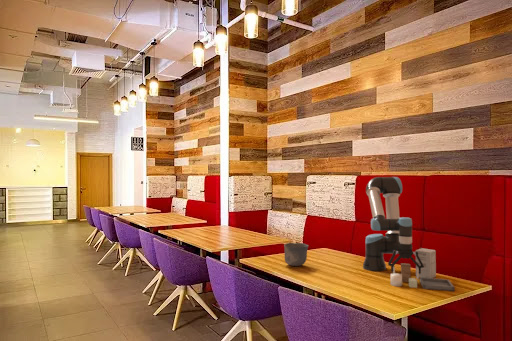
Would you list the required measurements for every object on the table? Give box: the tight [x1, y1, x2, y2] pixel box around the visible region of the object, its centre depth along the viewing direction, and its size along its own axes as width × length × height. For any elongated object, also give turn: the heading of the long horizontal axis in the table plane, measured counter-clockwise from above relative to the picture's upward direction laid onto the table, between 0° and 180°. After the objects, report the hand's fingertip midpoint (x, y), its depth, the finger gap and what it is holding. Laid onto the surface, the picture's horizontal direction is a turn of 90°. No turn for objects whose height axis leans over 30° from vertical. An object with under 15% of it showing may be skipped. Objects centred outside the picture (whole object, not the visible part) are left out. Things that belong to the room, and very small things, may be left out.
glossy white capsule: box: [390, 272, 403, 287], centre depth 219 cm, size 6×6×6 cm
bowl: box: [283, 242, 309, 267], centre depth 265 cm, size 18×18×15 cm
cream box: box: [408, 277, 418, 289], centre depth 216 cm, size 6×4×4 cm, turn 163°
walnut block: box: [400, 262, 412, 283], centre depth 227 cm, size 5×5×10 cm
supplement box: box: [415, 247, 437, 278], centre depth 236 cm, size 10×9×17 cm
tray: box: [419, 277, 456, 292], centre depth 216 cm, size 16×16×2 cm
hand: (405, 278), depth 226 cm, fingers open, 13 cm apart
